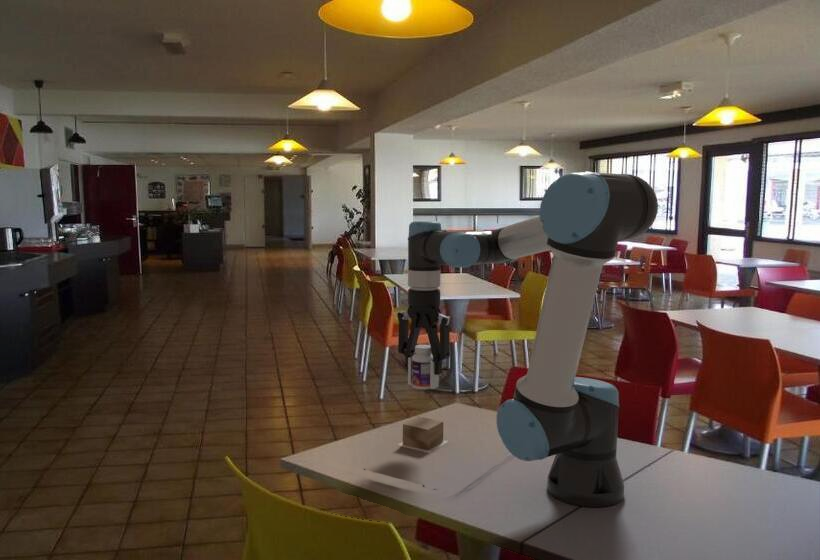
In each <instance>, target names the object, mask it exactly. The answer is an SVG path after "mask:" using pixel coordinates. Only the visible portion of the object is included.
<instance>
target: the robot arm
mask: <svg viewBox="0 0 820 560" xmlns="http://www.w3.org/2000/svg"><path fill="white" fill-rule="evenodd" d="M658 209H659V203H658V198H657V195H656V191H655V190H654V189H653V187H652V186H651V185H650V183H648V182H647V181H646V180H644V179H643V178H641V177H640V176H637V175H633V174H630V173H629V174H628V173H611V172H610V173H609V172H594V171H581V172H580V171H578V172H570V173H567V174H564V175H561V176H560V177H558V179H556V180H554V181H553V182H552V183H551V184H550V185H549V186H548V188H547V189H546V190H545V192H544V195H543V197H542V198H541V203H540V207H539V216H536V217H532V218H529V219H525V220H522V221H519V222H515V223H513V224H510V225H509V224H508V225H506V226H504V227H500V228H497V229H493V230H492V229H491V230H482V231H481V230H474V231H473V230H471V231H470V230H469V231H465V230H464V231H448V230H447V231H443V229H442V223H441V222H440V221H436V220H435V221H431V220H430V221H429V220H427V221H424V220H423V221H421V220H420V221H418V220H417V221H416V220H415V221H411V222H410V223H409V225H408V236H407V251H408V252H407V254H408V255H407V256H408V257H407V260H408V261H407V262H408V263H407V264H408V269H407V273H408V274H407V286H408V287H410V288H409V289H408V290H407V303H408V307H407V309H406V310H404V311H403V310H402V311H399V312H397V319H398V341H397V342H398V346H397V351H398V354H402V355H404V357H405V360H404V361H405V363H404V364H405V366H404V367H405V370H406V371H407V385H409V386H412V357H413V356H414V355H415V354H416V353H415V346H416V345H418V344H417V343H418V340H419V336H420V333H421V330H422V328H423V329H424V330H425V332H426V334H427V337H428V342H429V345H430V346H431V351H432V353H431V354H432V355H433V360H432V361H430V389H431V390H434V389H437V388H438V387H439V386H440V385H439V384H440V375H441V374H442V373H443V360H447V359H449V358H450V357H451V350H450V349H451V347H450V345H451V344H450V343H451V342H450V326H451V322H452V316H451V315H448V316H446V315H444V314H443V313H442V311H441V310H440V305H441V290H440V289H439V287H441V274H442V273H441V272H442V271H441V265H442V266H447V267H452V268H455V269H457V268H469V267H471V266H475V265H485V264H486V265H487V264H509V263H514V262H515V261H517V260H518V259H519V258H523V257H527V256H532V255H535V254H539V253H544V252H547V251H551V254H552V259H551V263H550V269H549V273H548V277H547V283H546V286H545V289H544V290H545V291H544V296H543V300H542V301H543V302H542V305H541V308H540V313H539V318H538V322H537V327H536V331H535V337H534V341H533V345H532V351H531V354H530V358H529V364H528V369H527V373H526V374H525V375H524V376H521V377H519V378H518V379H517V381H516V385H515V389H514V393H513V398H508V399H507V400H505V401H504V402H503V403H501V404H500V405H499V407H498V409H497V413H496V429H497V431H498V435H499V437H500V438H501V441H502V444H503V445H504V446H505V448H506V449H507V450H508V452H509V453H510V454H512V455H513V456H514V457H515V458H517V459H518V460H520V461H523V462H533V461H537V460H538V461H542V460H545V459H546V458H549V457H553V456H554V458H553V462H552V464H551V466H550V470H549V471H548V474H547V482H546V485H547V486H546V487H547V491H548V492H549V494H550V495H551V496H552V497H554V498H556V499H558V500H560V501H562V502H564V503H568V504H571V505H574V506H581V507H589V508H603V507H610V506H614V505H617V504H618V503H620V502H621V501H623V500H624V498H625V497H624V496H625V482H624V479H623V475H622V473H621V469H620V466H619V463H618V459H617V450H618V449H617V448H618V447H617V446H618V427H619V426H618V425H619V422H618V421H619V408H620V402H619V401H620V400H619V390H618V389H617V387H616V386H615V385H614V384H612V383H609V382H606V381H603V380H599V379H595V378H589V377H581V376H576V375H577V372H578V367H579V363H580V359H581V355H582V351H583V348H584V342H585V338H586V336H587V330H588V327H589V322H590V318H591V315H592V311H593V306H594V302H595V299H596V295H597V290H598V286H599V282H600V278H601V273H602V269H603V266H604V265H605V264H607V263H609V262H610V261H612V260H613V259H614V258H615V254H616V250H617V247H618V242H619V241H624V240H632V239H634V238H637V237H639V236H641V235H643V234H644V233H646V232H647V231H648V230H649V229H650V228H651V227H652V225H653V224H654V222H655V220H656V218H657V215H658V212H659V211H658ZM409 319H410V320H411V323H410V322H409ZM437 323H439V324H440V325H439V328H438V324H437ZM409 324H410V327H409ZM438 329H439V333H438ZM409 330H410V331H409ZM430 389H429V390H430Z"/></svg>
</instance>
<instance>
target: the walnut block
mask: <svg viewBox="0 0 820 560" xmlns="http://www.w3.org/2000/svg"><path fill="white" fill-rule="evenodd" d="M443 440H444V420H438V419H432V418H427V417H424V416H416V417H415V418H413V419H410V420H409V421H406V422H404V423H402V442H403V445H406V446H410V447H415V448H419V449H423V450H427V451H428V450H430V449H432V448H433V447H435V446H437V445H438V444H440V443H442V442H443Z"/></svg>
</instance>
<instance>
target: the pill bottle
mask: <svg viewBox="0 0 820 560" xmlns="http://www.w3.org/2000/svg"><path fill="white" fill-rule="evenodd" d="M414 353H416V354H414V355H413V357H412V385H411V386H412V387H413V389H417V390H430V361H432V360H433V355H432V351H431V346H430V344H416V346H415V352H414Z"/></svg>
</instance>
